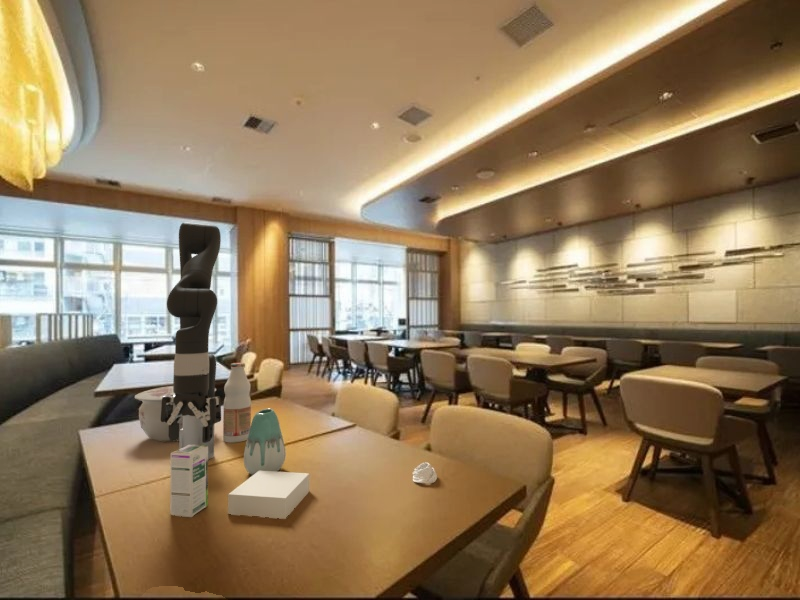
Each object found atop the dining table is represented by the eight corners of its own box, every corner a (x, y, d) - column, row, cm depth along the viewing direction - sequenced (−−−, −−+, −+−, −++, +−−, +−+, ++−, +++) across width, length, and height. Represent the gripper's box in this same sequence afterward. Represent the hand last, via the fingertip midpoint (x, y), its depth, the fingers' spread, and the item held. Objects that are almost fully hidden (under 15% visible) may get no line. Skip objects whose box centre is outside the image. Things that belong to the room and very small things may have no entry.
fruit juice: (220, 444, 140) (221, 365, 141) (226, 436, 149) (227, 362, 150) (248, 442, 142) (249, 364, 143) (252, 434, 151) (253, 361, 152)
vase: (245, 483, 107) (246, 417, 108) (241, 469, 117) (242, 408, 118) (289, 475, 112) (289, 412, 113) (281, 462, 123) (281, 404, 123)
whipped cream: (432, 491, 104) (433, 473, 104) (408, 485, 106) (409, 468, 106) (438, 477, 112) (439, 460, 111) (415, 472, 114) (416, 456, 113)
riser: (228, 516, 90) (228, 494, 90) (259, 489, 104) (259, 470, 104) (285, 520, 88) (285, 498, 88) (309, 492, 102) (309, 473, 102)
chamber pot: (157, 453, 131) (158, 391, 132) (118, 440, 145) (120, 383, 146) (232, 432, 155) (232, 379, 155) (192, 422, 169) (193, 374, 170)
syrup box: (191, 518, 89) (192, 453, 89) (168, 515, 90) (170, 451, 90) (208, 506, 94) (209, 444, 95) (187, 503, 96) (188, 443, 96)
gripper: (153, 373, 91) (151, 444, 90) (208, 374, 89) (207, 447, 88) (176, 369, 98) (175, 435, 98) (228, 370, 96) (227, 437, 95)
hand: (190, 440), depth 93 cm, fingers open, 8 cm apart
